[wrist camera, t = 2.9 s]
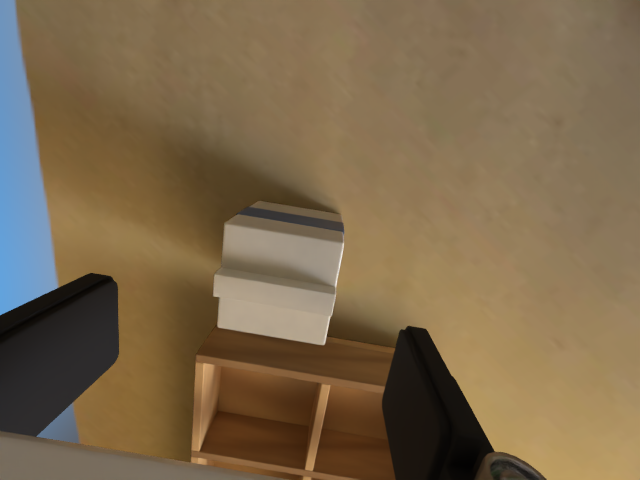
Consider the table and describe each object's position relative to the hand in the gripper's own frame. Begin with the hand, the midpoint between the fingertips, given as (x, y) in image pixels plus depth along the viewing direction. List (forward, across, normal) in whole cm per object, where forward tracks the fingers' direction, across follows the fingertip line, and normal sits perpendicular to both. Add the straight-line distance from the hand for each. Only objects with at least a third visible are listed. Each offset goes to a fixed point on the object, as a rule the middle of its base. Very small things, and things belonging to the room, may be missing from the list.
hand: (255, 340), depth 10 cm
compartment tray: (+9, -3, +15) cm, 18 cm away
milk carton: (+8, 0, -1) cm, 8 cm away
